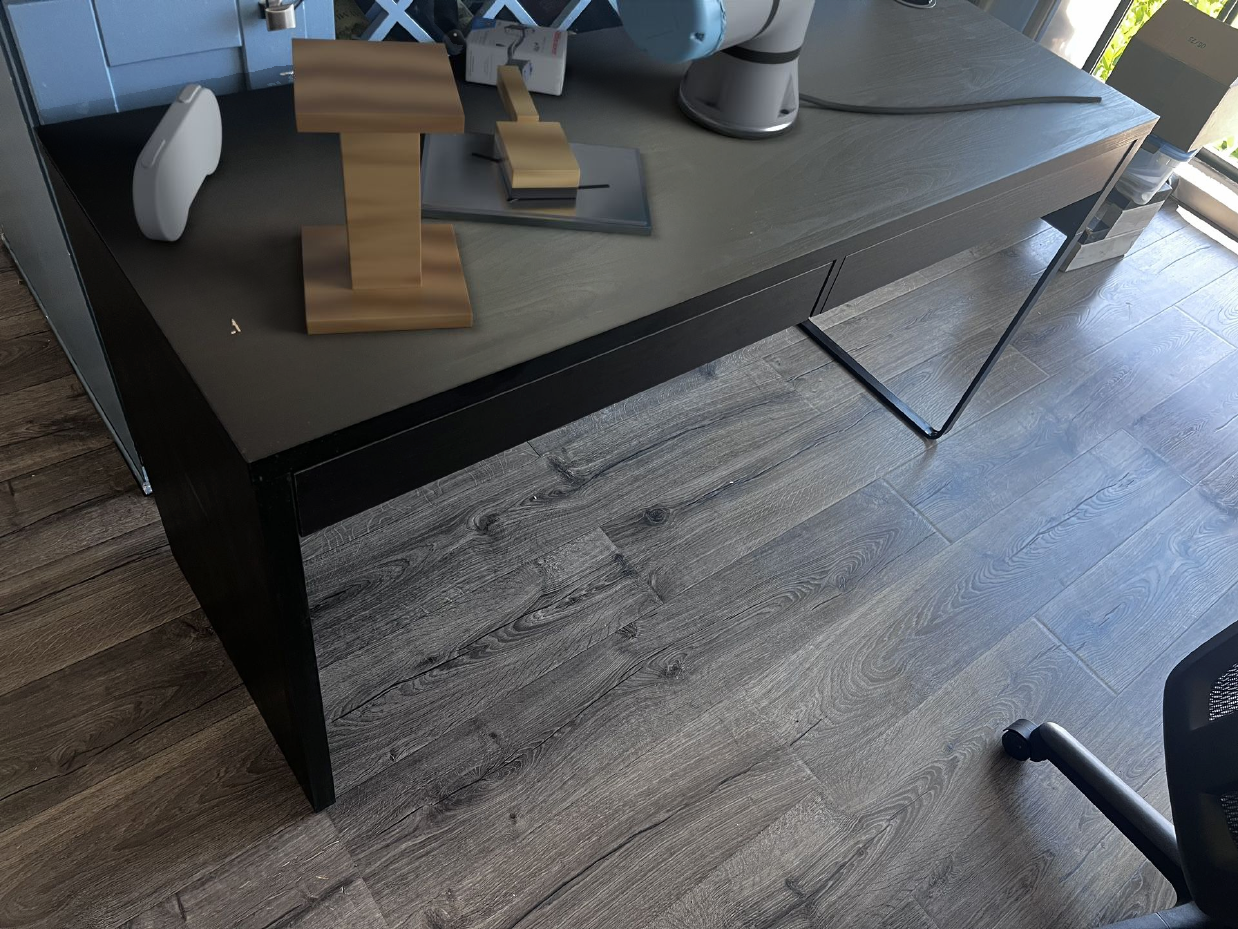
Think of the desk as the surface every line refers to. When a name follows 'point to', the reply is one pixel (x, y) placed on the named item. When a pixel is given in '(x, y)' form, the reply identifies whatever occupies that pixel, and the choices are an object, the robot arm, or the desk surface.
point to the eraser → (531, 145)
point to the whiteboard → (476, 191)
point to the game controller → (176, 163)
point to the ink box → (517, 53)
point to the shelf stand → (379, 187)
